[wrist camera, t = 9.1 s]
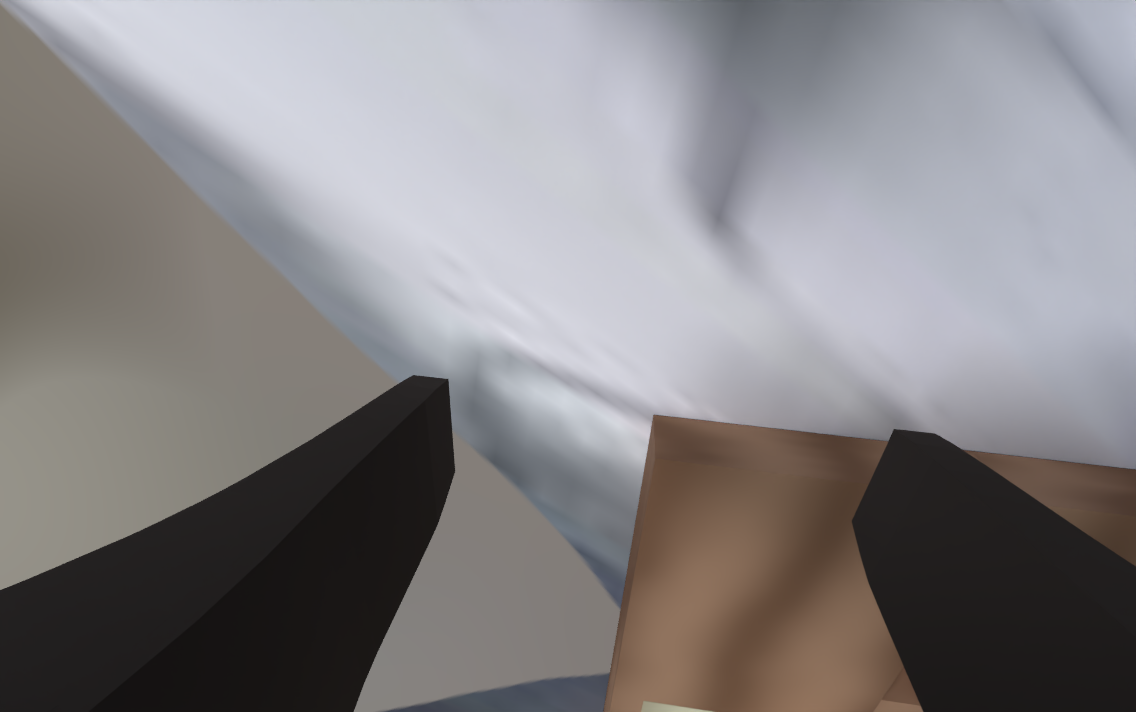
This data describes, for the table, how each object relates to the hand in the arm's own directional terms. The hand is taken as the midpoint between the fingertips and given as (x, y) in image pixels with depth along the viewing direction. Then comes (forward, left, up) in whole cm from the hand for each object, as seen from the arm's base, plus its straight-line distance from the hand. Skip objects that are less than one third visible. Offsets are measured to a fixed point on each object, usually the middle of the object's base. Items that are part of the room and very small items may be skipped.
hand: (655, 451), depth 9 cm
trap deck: (-12, +19, -9) cm, 24 cm away
